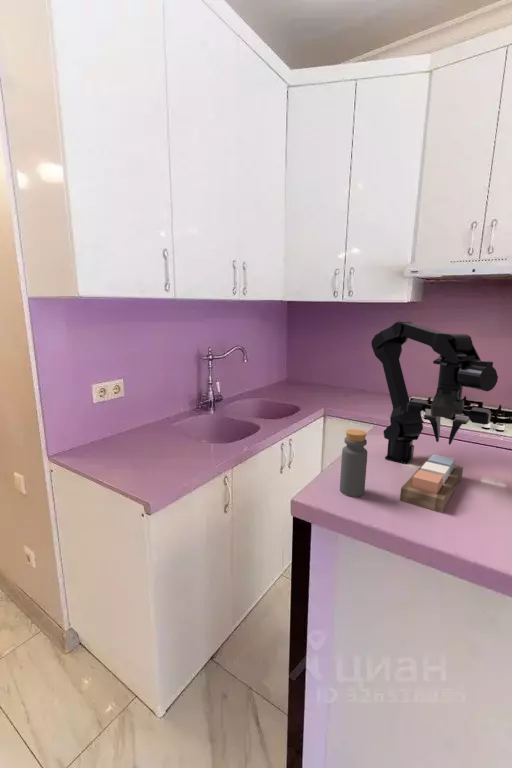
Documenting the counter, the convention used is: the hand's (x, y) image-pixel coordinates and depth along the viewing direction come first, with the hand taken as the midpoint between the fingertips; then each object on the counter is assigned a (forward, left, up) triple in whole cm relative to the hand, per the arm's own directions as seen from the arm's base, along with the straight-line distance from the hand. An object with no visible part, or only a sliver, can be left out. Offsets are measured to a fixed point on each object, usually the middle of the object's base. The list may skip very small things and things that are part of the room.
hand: (443, 442), depth 98 cm
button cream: (0, -7, -8) cm, 11 cm away
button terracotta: (0, -14, -8) cm, 16 cm away
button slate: (0, 0, -8) cm, 8 cm away
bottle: (-15, -22, -10) cm, 29 cm away
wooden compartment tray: (0, -7, -10) cm, 12 cm away
